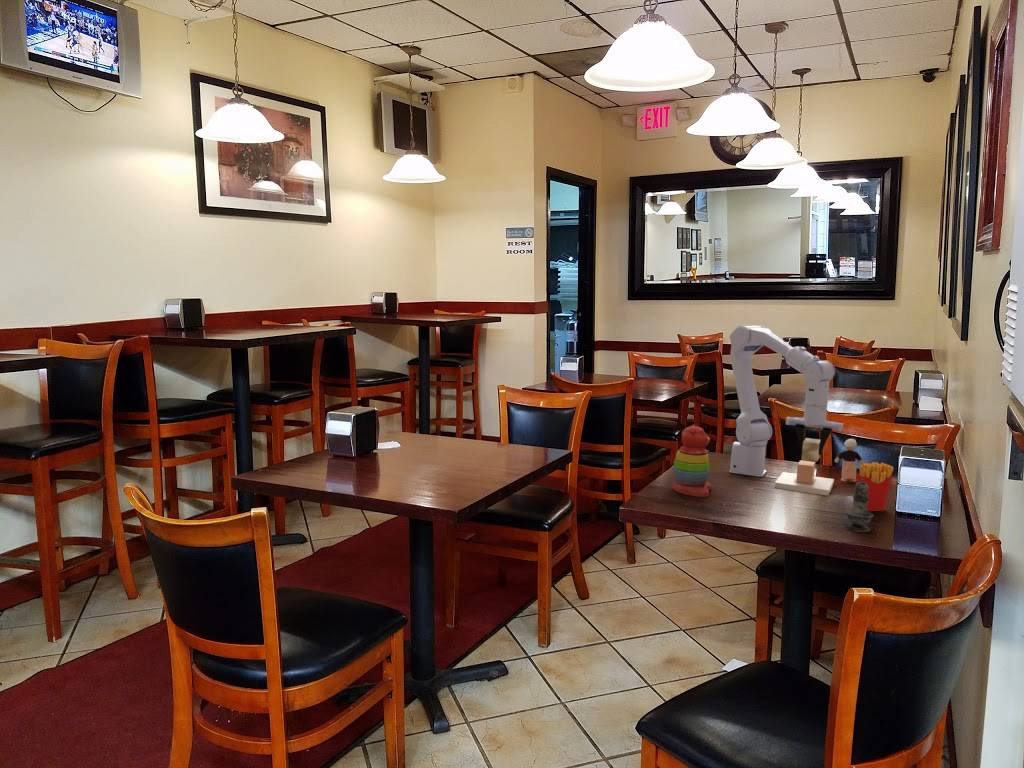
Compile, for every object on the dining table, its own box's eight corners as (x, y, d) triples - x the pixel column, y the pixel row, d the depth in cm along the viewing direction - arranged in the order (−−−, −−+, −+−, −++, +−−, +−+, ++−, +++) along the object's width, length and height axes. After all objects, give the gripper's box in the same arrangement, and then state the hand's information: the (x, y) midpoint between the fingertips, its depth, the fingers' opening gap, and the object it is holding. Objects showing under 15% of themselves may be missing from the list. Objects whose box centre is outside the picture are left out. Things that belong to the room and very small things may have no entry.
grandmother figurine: (858, 480, 226) (862, 438, 224) (862, 483, 222) (867, 440, 221) (831, 478, 227) (835, 436, 225) (835, 482, 223) (839, 439, 221)
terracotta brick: (796, 481, 216) (797, 464, 215) (798, 477, 221) (800, 460, 220) (811, 483, 214) (813, 466, 213) (813, 479, 219) (815, 462, 218)
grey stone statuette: (839, 523, 184) (844, 475, 182) (863, 524, 185) (868, 475, 183) (852, 532, 178) (857, 481, 177) (876, 532, 179) (881, 482, 177)
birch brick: (801, 459, 211) (803, 441, 210) (804, 455, 216) (806, 437, 216) (817, 461, 209) (818, 443, 209) (819, 457, 215) (821, 439, 214)
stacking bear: (708, 498, 202) (713, 431, 199) (669, 493, 205) (673, 427, 203) (712, 488, 212) (717, 424, 209) (675, 483, 215) (679, 421, 213)
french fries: (859, 511, 195) (864, 465, 193) (851, 506, 199) (856, 461, 197) (891, 511, 196) (896, 465, 194) (883, 507, 199) (888, 462, 198)
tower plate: (774, 487, 215) (775, 482, 215) (782, 476, 227) (783, 471, 227) (828, 495, 208) (829, 490, 208) (833, 484, 221) (834, 478, 220)
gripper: (785, 403, 211) (781, 452, 213) (843, 409, 204) (837, 459, 206) (789, 400, 217) (785, 447, 219) (845, 406, 210) (840, 454, 212)
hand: (811, 453), depth 213 cm, fingers closed on birch brick, 4 cm apart
